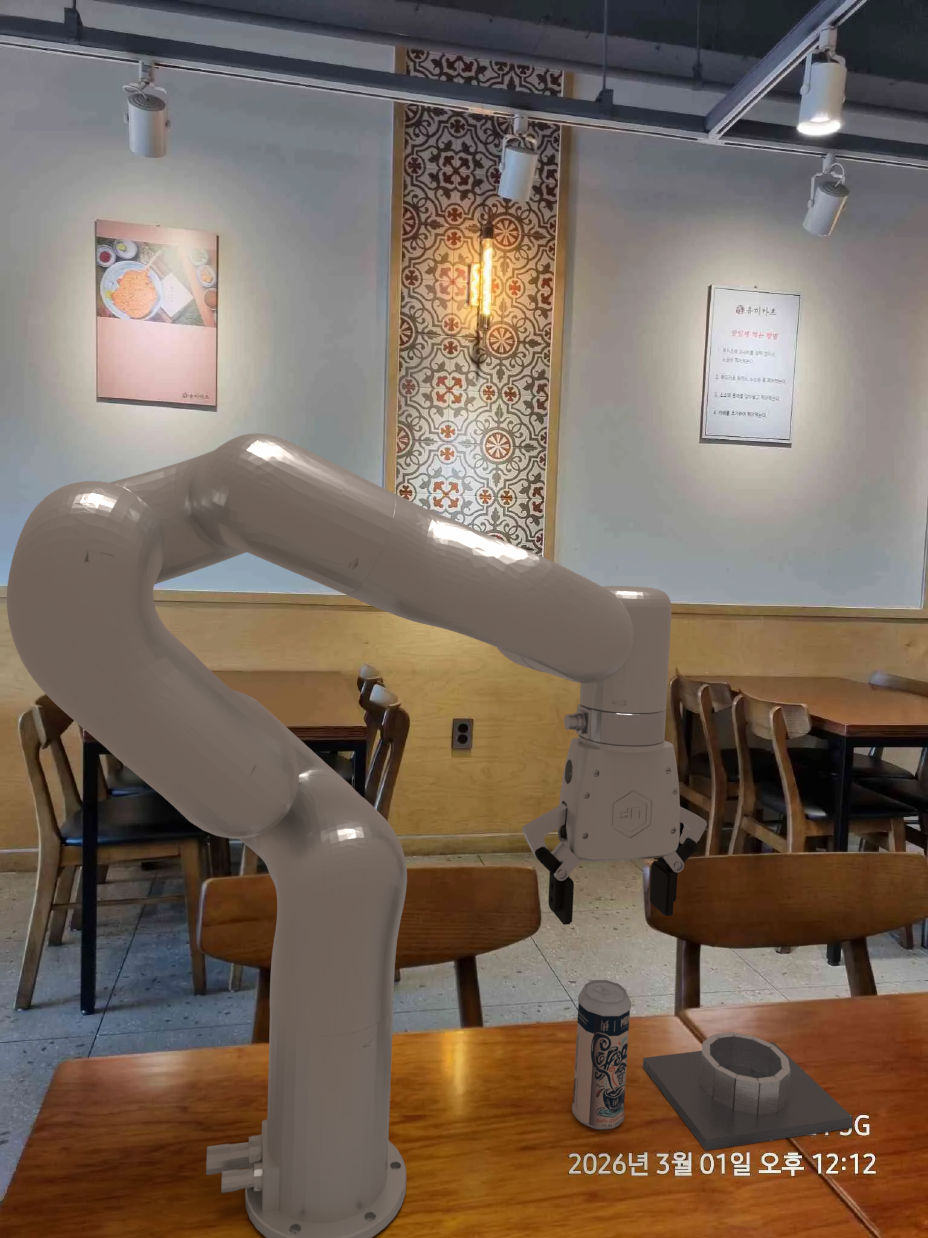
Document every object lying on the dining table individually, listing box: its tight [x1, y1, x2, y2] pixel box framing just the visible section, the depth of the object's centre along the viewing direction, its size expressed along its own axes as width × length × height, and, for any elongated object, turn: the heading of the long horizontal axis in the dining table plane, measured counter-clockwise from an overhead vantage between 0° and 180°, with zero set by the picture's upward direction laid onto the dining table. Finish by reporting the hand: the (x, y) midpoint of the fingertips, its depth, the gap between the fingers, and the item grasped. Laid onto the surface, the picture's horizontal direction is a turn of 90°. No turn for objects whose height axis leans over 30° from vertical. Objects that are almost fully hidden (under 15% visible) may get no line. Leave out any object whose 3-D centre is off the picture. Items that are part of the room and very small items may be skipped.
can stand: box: [642, 1031, 854, 1152], centre depth 80 cm, size 15×12×4 cm
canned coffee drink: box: [571, 979, 632, 1130], centre depth 76 cm, size 5×5×12 cm
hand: (612, 913), depth 75 cm, fingers open, 9 cm apart
